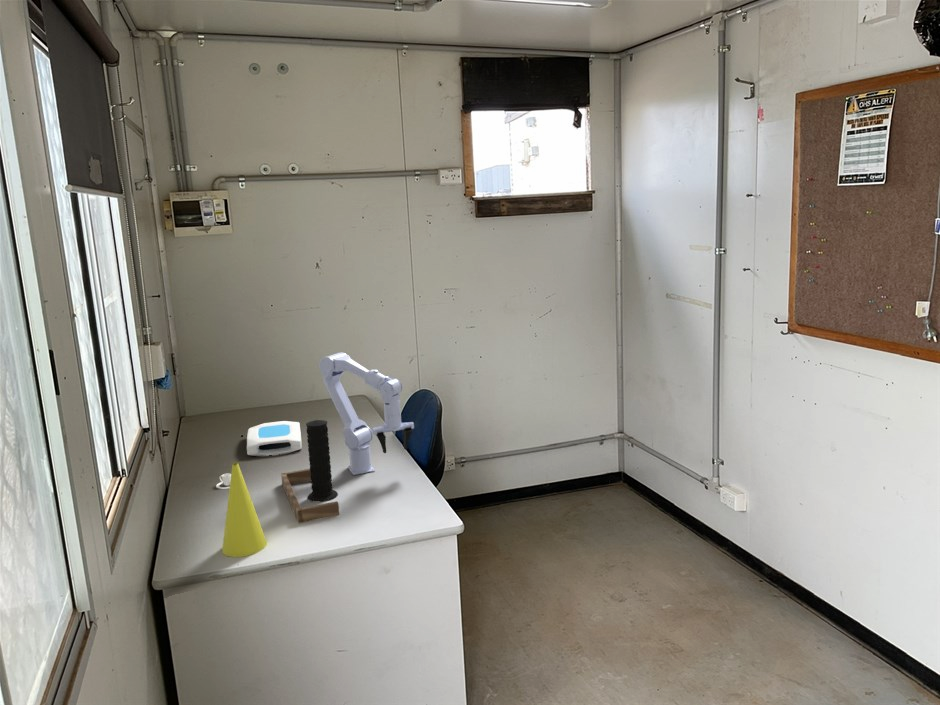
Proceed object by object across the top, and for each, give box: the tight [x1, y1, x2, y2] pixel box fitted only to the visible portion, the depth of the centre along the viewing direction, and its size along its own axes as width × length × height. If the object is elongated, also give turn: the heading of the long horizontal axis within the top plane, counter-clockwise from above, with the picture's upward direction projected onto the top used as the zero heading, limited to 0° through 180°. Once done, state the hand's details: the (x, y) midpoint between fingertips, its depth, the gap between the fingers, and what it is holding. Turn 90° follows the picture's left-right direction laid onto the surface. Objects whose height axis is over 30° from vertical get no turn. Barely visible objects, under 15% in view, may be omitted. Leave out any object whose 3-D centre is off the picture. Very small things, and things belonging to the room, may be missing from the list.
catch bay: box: [280, 468, 340, 524], centre depth 238 cm, size 36×13×4 cm, turn 22°
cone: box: [221, 461, 268, 558], centre depth 203 cm, size 12×12×25 cm
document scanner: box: [246, 420, 303, 457], centre depth 297 cm, size 21×28×6 cm
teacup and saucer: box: [215, 472, 231, 490], centre depth 254 cm, size 9×8×4 cm
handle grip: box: [305, 419, 339, 503], centre depth 237 cm, size 10×26×10 cm
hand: (395, 450), depth 253 cm, fingers open, 7 cm apart
